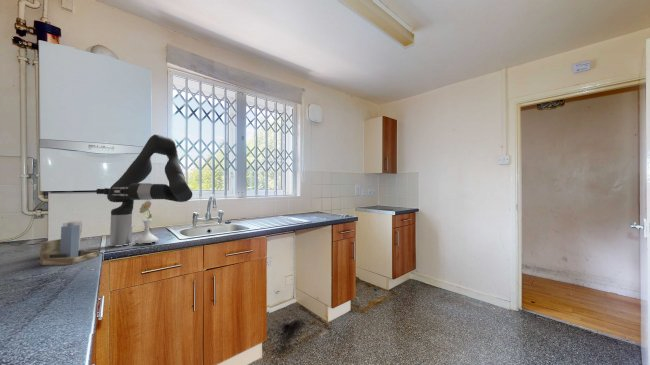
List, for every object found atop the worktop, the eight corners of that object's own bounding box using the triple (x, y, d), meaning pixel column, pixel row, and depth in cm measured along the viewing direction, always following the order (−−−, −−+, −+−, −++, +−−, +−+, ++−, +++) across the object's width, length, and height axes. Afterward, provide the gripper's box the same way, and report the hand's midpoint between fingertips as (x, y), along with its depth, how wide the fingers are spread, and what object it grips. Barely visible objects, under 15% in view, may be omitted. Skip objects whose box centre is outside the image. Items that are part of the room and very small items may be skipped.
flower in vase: (133, 243, 146) (134, 200, 147) (156, 241, 154) (157, 200, 155) (135, 247, 137) (137, 200, 138) (160, 244, 144) (161, 200, 145)
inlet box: (70, 256, 116) (71, 236, 117) (98, 255, 118) (99, 236, 118) (39, 265, 103) (40, 242, 103) (72, 264, 104) (73, 242, 104)
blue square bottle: (68, 257, 112) (69, 222, 113) (78, 257, 112) (79, 221, 113) (59, 259, 108) (61, 223, 109) (70, 259, 108) (71, 223, 109)
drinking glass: (66, 251, 126) (67, 221, 126) (83, 250, 128) (85, 220, 129) (57, 254, 119) (59, 222, 120) (76, 253, 122) (77, 222, 122)
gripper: (152, 183, 122) (116, 183, 120) (133, 182, 108) (91, 182, 106) (152, 199, 121) (115, 199, 120) (133, 200, 107) (91, 200, 106)
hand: (104, 191), depth 113 cm, fingers open, 8 cm apart
